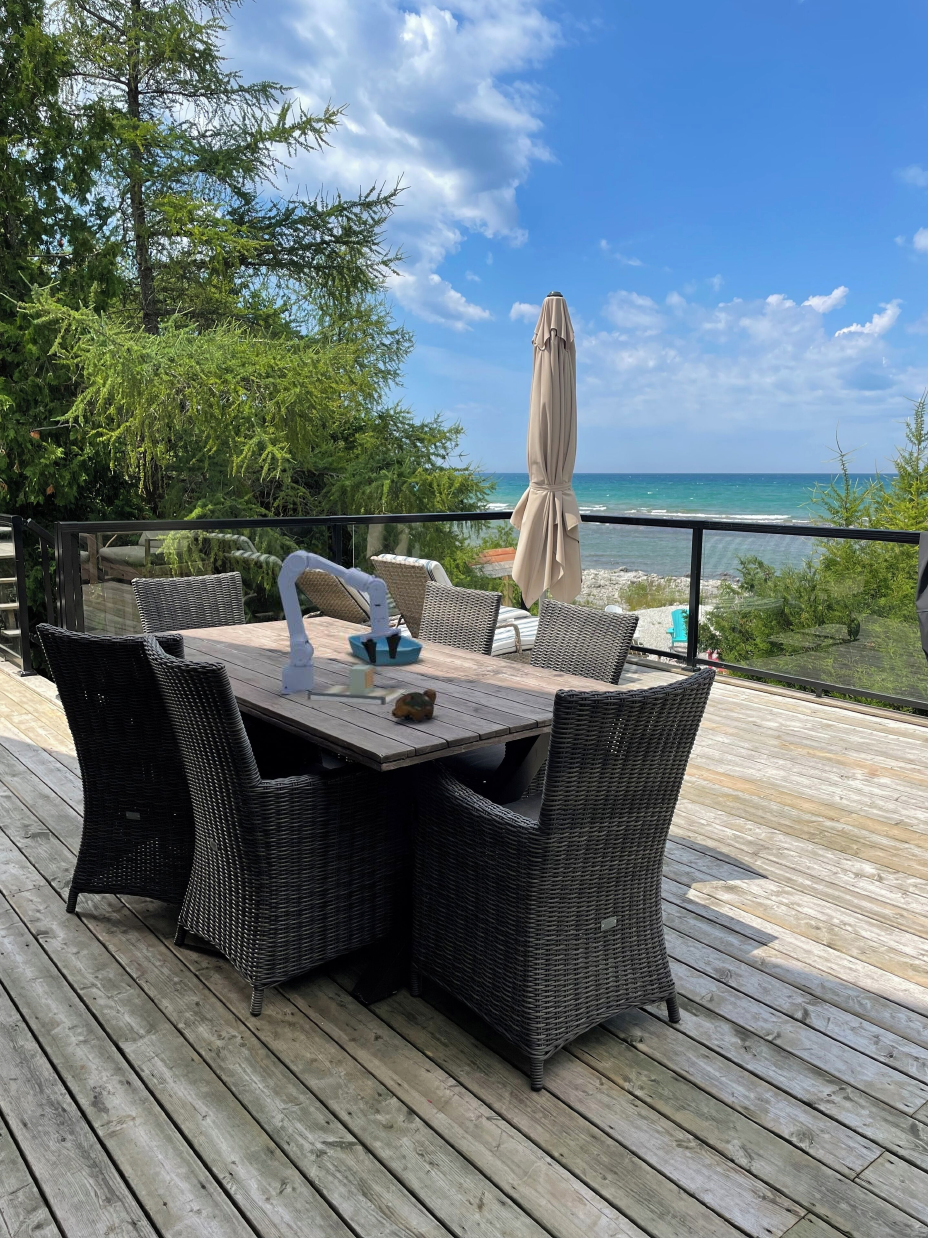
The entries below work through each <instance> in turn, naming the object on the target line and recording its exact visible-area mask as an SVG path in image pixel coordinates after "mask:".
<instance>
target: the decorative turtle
mask: <svg viewBox="0 0 928 1238" xmlns="http://www.w3.org/2000/svg"><path fill="white" fill-rule="evenodd" d="M436 700H437V693H436V691H435V689H426V690H424V691H423V692H419V691H413V692H408V693H406V694H403V695H402V696H400V697H399V698H398V699H396V701H395V704H394V708H393V709H392V710H391V715H392V716H393V718H395V719H396V720H397V719H404V720H408V719H409V718H410V717H411V718H412V720H413V721H414V722H415V723H420V721H421V720H422V719H423V718H424V719H425V720H427V721H428V720H429V721H431V719H433V715H434V712H435V703H436Z"/></svg>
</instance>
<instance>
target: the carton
mask: <svg viewBox="0 0 928 1238" xmlns="http://www.w3.org/2000/svg"><path fill="white" fill-rule="evenodd" d="M348 675H349V676H348V678H349V679H348V680H349V682H348V684H349V685H348V686H349V693H350V694H352V695H367V694H368V693H370V692H372V691H373V688H374V665H373V664H361V663H357V664H355V665H353V666H351V667H349V668H348Z"/></svg>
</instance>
